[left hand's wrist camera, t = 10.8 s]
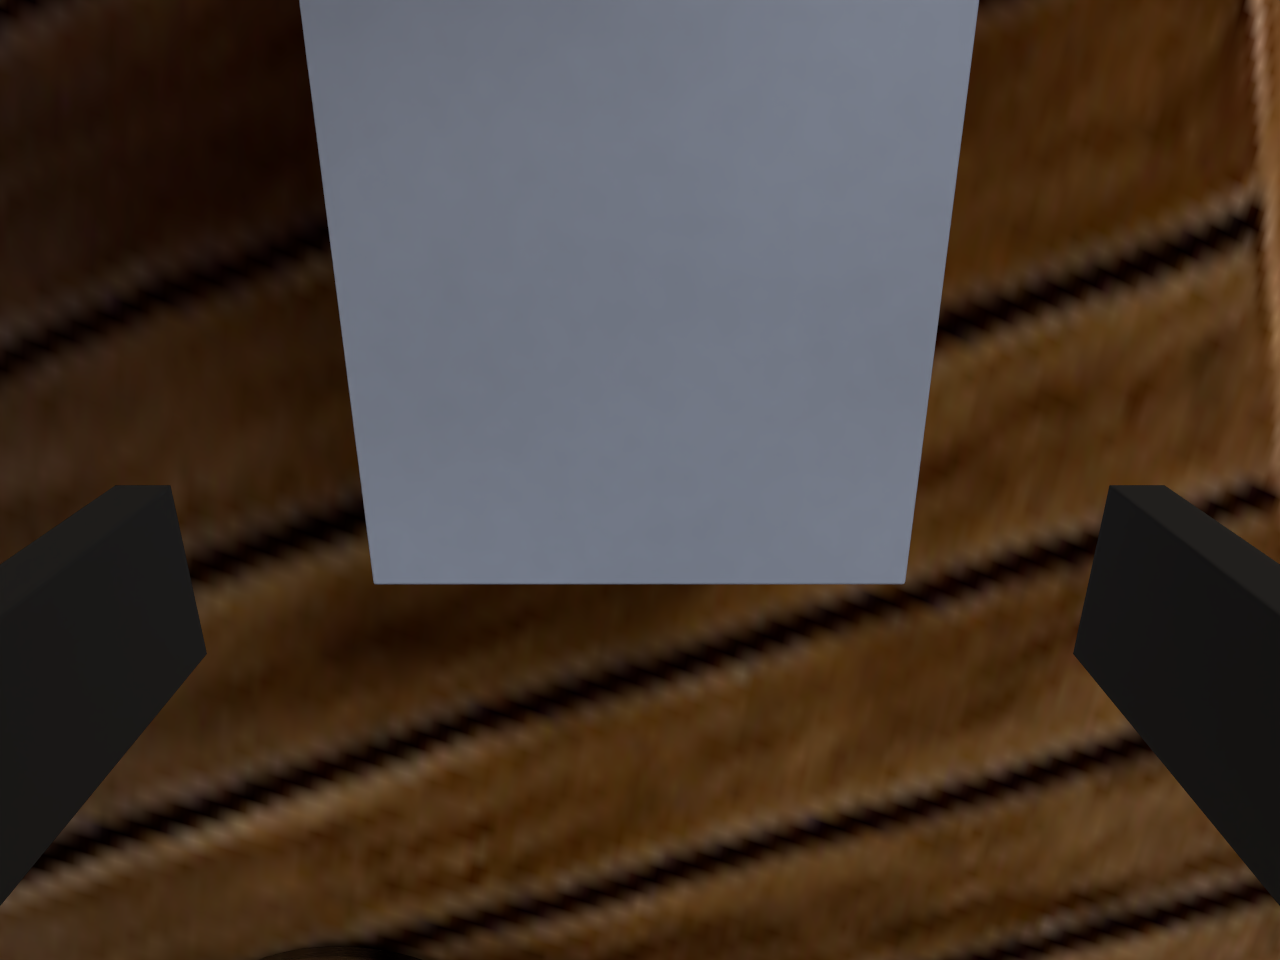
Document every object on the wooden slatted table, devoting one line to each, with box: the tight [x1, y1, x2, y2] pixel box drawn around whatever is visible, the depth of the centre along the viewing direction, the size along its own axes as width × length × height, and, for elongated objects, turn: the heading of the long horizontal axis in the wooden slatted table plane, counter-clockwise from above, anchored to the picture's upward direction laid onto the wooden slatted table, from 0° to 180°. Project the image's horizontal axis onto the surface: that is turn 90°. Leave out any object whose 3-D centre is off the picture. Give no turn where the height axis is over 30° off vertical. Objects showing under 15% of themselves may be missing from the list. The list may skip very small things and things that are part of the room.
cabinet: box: [299, 0, 979, 584], centre depth 19 cm, size 18×11×9 cm, turn 0°
